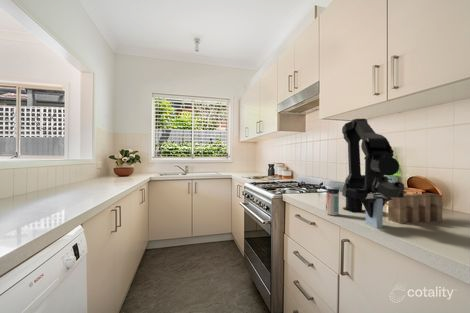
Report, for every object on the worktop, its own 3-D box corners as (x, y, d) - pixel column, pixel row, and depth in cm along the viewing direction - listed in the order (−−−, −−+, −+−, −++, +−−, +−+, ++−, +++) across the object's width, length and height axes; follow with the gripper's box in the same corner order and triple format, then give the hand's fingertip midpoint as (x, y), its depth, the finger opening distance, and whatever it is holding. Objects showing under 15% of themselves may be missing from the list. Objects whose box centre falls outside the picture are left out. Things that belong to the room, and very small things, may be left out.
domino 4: (423, 217, 86) (424, 193, 86) (428, 217, 86) (428, 192, 86) (437, 221, 81) (437, 195, 81) (442, 221, 81) (442, 195, 81)
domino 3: (412, 218, 85) (412, 193, 85) (416, 218, 85) (417, 193, 85) (425, 222, 80) (425, 195, 80) (430, 222, 80) (430, 195, 80)
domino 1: (388, 219, 83) (388, 193, 83) (392, 219, 83) (393, 193, 83) (400, 223, 78) (400, 196, 78) (405, 223, 78) (405, 196, 78)
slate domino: (365, 223, 78) (365, 196, 78) (370, 223, 78) (371, 195, 78) (376, 228, 73) (377, 198, 73) (382, 227, 73) (382, 198, 73)
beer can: (327, 212, 93) (328, 184, 93) (339, 214, 90) (340, 185, 90) (324, 214, 89) (324, 185, 89) (336, 216, 86) (337, 187, 86)
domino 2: (400, 219, 84) (400, 193, 84) (404, 218, 84) (405, 193, 84) (412, 223, 79) (413, 196, 79) (417, 222, 79) (418, 195, 79)
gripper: (369, 175, 66) (368, 225, 66) (420, 174, 69) (419, 223, 69) (344, 172, 77) (344, 215, 77) (389, 172, 80) (389, 213, 80)
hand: (373, 217), depth 75 cm, fingers closed on slate domino, 2 cm apart
